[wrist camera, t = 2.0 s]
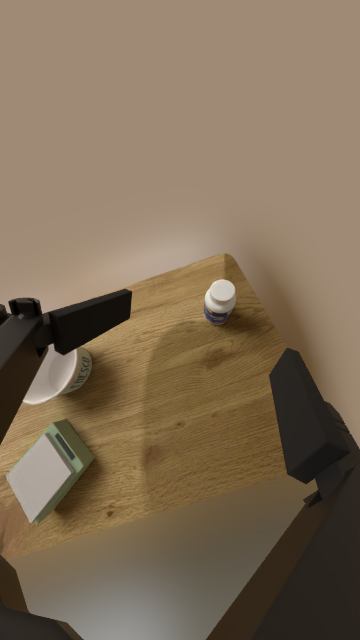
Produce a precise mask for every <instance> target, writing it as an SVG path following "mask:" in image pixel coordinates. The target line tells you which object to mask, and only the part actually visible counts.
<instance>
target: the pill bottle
mask: <svg viewBox="0 0 360 640" xmlns="http://www.w3.org/2000/svg"><path fill="white" fill-rule="evenodd" d="M235 302H236V296H235V287H234V285H233V284H232V283H231V282H230V281H227V280H217V281H215V282H214V283H213V284H212V285H211V287H210V289H209V290H208V291H207V293H206V295H205V304H204V317H205V319H206V320H207V321H208V322H209V323H211V324H214V325H220V324H223V323H224V322H226V321H227V319H228V318H229V316H230V314H231V312H232V309H233V307H234V305H235Z"/></svg>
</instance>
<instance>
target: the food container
mask: <svg viewBox="0 0 360 640" xmlns="http://www.w3.org/2000/svg"><path fill="white" fill-rule="evenodd" d="M48 347H49V350H48V353H47V355H46V357H45V359H44V361H43V362H42V364H41V366H40V368H39V370H38V372H37V374H36V376H35V378H34V380H33V382H32V384H31V386H30V388H29V390H28V392H27V394H26V396H25V398H24V400H23V402H24V403H26V404H31V405H37V404H42V403H45V402H48V401H50V400H52V399H53V398H55V397H57V396H60V395H63V394H66V393H69V392H72V391H75V390H77V389H78V388H80V387H81V386H82V385H83V384H84V383H85V382H86V380H87V379H88V377H89V375H90V373H91V369H92V359H91V356H90V354H89V353H88V351H86V350H85V349H84V348H82V347H78V348H77V349H75V350H73V351H71V352H70V353H68V354H66V355H64V356H63V355H61V354H60V353H58V352H56V351H55V349H54V344H51V345H49V346H48Z"/></svg>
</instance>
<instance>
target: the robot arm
mask: <svg viewBox="0 0 360 640" xmlns="http://www.w3.org/2000/svg"><path fill="white" fill-rule="evenodd" d="M131 299H132V291H129V290H127V289H123V290H120V291H117V292H113V293H110V294H107V295H104V296H100V297H97V298H94V299H90V300H87V301H84V302H81V303H77V304H73V305H70V306H67V307H64V308H60V309H57V310H53V311H50V312H47V313H44V314H42V311H41V305H40V301H39V300H37V299H34V298H17V299H13V300H11V301H9V306H10V309H11V313H12V314H10V313H7V311H6V308H5V306H4V305H2V304H0V445H1V443H2V441H3V439H4V437H5V435H6V433H7V431H8V429H9V427H10V425H11V423H12V421H13V419H14V417H15V415H16V413H17V411H18V409H19V407H20V405H21V403H22V402H23V400H24V398H25V396H26V394H27V392H28V390H29V388H30V386H31V384H32V382H33V380H34V378H35V376H36V374H37V372H38V370H39V368H40V366H41V364H42V362H43V361H44V359H45V357H46V355H47V353H48V350H49V347H48V346H49V345H51V344H54V349H55V351H56V352H58V353H60V354H61V355H63V356H64V355H66V354H68V353H70V352H71V351H73V350H75V349H77V348H78V347H80V346H82V345H84V344H85V343H87V342H89V341H91V340H92V339H94V338H96V337H98V336H99V335H101V334H103V333H105V332H106V331H108V330H110V329H112V328H113V327H115V326H117V325H119V324H121V323H122V322H124V321H126V320H128V319H129V318H130V311H131ZM269 377H270V383H271V388H272V394H273V399H274V404H275V410H276V415H277V421H278V426H279V432H280V437H281V443H282V448H283V454H284V459H285V464H286V470H287V474H288V475H290V476H292V477H294V478H296V479H297V480H299V481H301V482H303V483H305V484H307V483H309V482H310V481H311V480H313V479H314V478H315V480H316V483H317V486H318V490H317V491H316V492H314V493H313V494H311V495H310V496H308V497H307V498H305V499H303V500H304V502H305V503H306V504H305V505H304V507H303V508H302V509H301V511H300V512H299V513H298V515H297V516H296V517H295V519H294V520H293V522H292V523H291V524H290V526H289V527H288V528H287V530H286V531H285V532H284V534H283V535H282V537H281V538H280V539H279V541H278V542H277V544H276V545H275V546H274V547H273V549H272V550H271V552H270V553H269V554H268V556H267V557H266V558H265V560H264V561H263V562H262V564H261V565H260V567H259V568H258V569H257V571H256V572H255V573H254V575H253V576H252V578H251V579H250V580H249V582H248V583H247V584H246V586H245V587H244V588H243V590H242V591H241V593H240V594H239V595H238V597H237V598H236V599H235V601H234V602H233V603H232V605H231V606H230V607H229V609H228V610H227V612H226V613H225V614H224V616H223V617H222V619H221V620H220V621H219V622H218V624H217V625H216V627H215V628H214V629H213V631H212V632H211V633H210V635H209V636H208V638H207V639H206V640H360V449H359V447H358V446H357V444H356V442H355V440H354V439H353V437H352V435H351V434H350V432H349V430H348V428H347V426H346V425H345V423H344V421H343V420H342V418H341V416H340V414H339V413H338V412H337V411H336V410H335V408H333V406H332V405H331V404H330V403H328V402H325V401H324V400H323V398H322V396H321V394H320V392H319V390H318V388H317V386H316V385H315V383H314V381H313V379H312V377H311V375H310V373H309V371H308V369H307V367H306V365H305V363H304V361H303V360H302V358H301V356H300V354H299V352H298V351H295V350H292V349H289V348H286V350H285V351H284V353H283V355H282V356H281V358H280V359H279V361H278V362H277V364H276V365H275V367H274V368H273V370H272V371H271V373H270V375H269ZM0 640H83V639H82V638H81V637H80V636H79V635H78V634H77V633H76V632H75V630H74V629H73V628H71V627H70V625H69V624H68V623H66V622H62V621H58V620H54V619H50V618H46V617H41V616H37V615H33V614H31V613H29V611H28V609H27V606H26V602H25V599H24V596H23V593H22V589H21V586H20V583H19V580H18V576H17V573H16V570H15V569H14V568H13V567H12V566H11V565H10V564H9V563H8V562H7V561H6V560H5V559H4V558H3V557H2V556H1V555H0Z"/></svg>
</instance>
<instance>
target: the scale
mask: <svg viewBox="0 0 360 640" xmlns="http://www.w3.org/2000/svg"><path fill="white" fill-rule="evenodd" d="M94 458H95V457H94V456H93V454H92V453H91V452H90V451H89V449H88V448H87V447H86V445H85V444H84V443H83V441H82V440H81V439H80V437H79V436H78V435H77V433H76V432H75V431H74V429H73V428H72V427H71V425H70V424H69V423H68V422H67V420H66V419H64V420H61V421H57V422H54V423H52V424H51V425H50V426H49V427H48V428H47V430H46V431H45V432H44V433H43V434H42V435H41V436H40V437H39V439H38V440H37V441H36V442H35V443H34V444H33V445H32V446H31V447H30V449H29V450H28V451H27V452H26V453H25V454H24V455H23V456H22V458H21V459H20V460H19V461H18V462H17V463H16V464H15V465H14V466H13V468H12V469H11V470H10V471H9V472H8V475H7V476H6V478H7V480H8V482H9V484H10V486H11V487H12V489H13V491H14V493H15V495H16V497H17V499H18V501H19V502H20V504H21V506H22V508H23V510H24V512H25V514H26V516H27V517H28V519H29V521H30V523H32V522H33V521H34V522H35V523H36V525H37V524H39V523H40V522H41V521H42V520H43V519H44V518H45V517H46V516H48V515H49V514H50V513H51V512H52V511H53V510H54V509H55V508H56V507H57V505H58V504H59V503H60V501H61V500H62V499H63V498H64V496H65V495H66V494H67V493H68V491H69V490H70V489H71V488H72V486H73V485H74V484H75V482H76V481H77V480H78V479H79V477H80V476H81V475H82V474H83V472H84V471H85V470H86V469H87V467H88V466H89V465H90V463H91V462H92V461H93V460H94Z"/></svg>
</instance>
